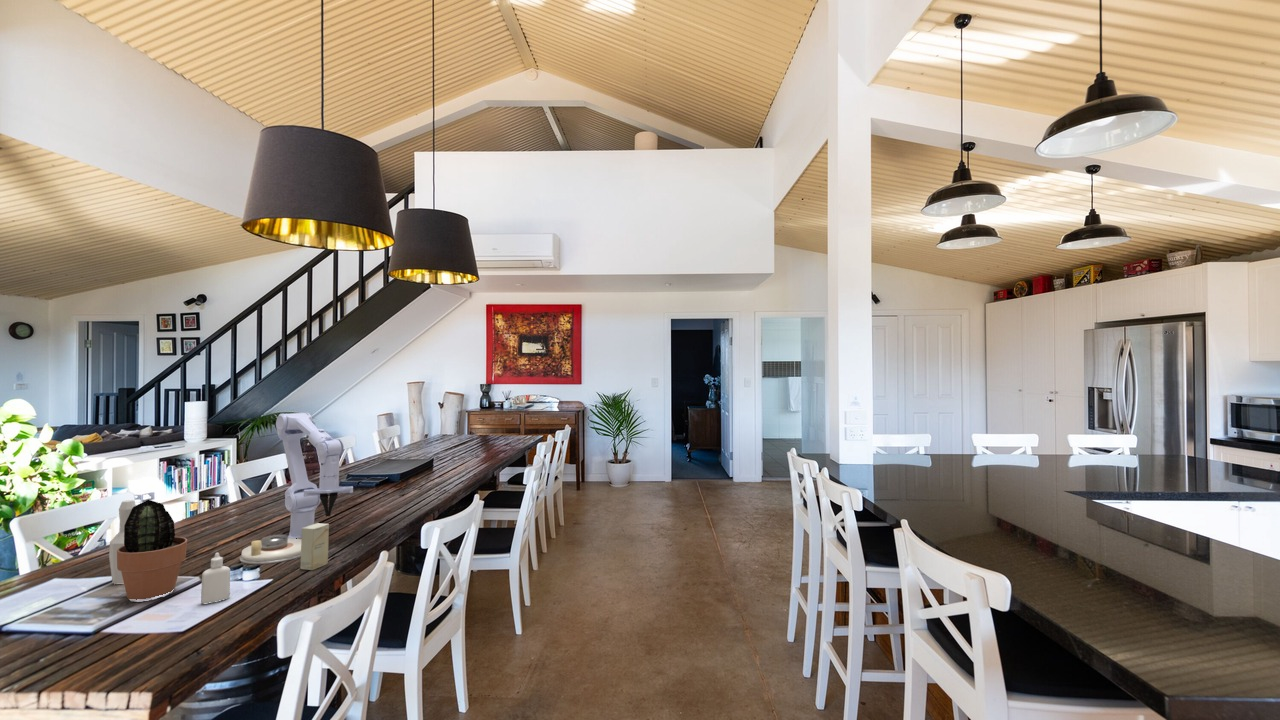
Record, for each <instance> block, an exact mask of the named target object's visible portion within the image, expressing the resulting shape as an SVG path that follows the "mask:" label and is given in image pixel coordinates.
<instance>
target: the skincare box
mask: <svg viewBox="0 0 1280 720" xmlns="http://www.w3.org/2000/svg"><path fill="white" fill-rule="evenodd" d="M329 529H330V524H329V523H322V522H321V523H319V522H317V523H314V524H313V525H310V526H307V527H304V528H302V538H300V539H301V557H300V567H299V568H300V570H305V571H314V570H316V569H318V568H321V567H324V566H325V565H328V564H329V563H328V562H329V533H330V531H329Z"/></svg>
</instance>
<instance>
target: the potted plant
mask: <svg viewBox="0 0 1280 720" xmlns="http://www.w3.org/2000/svg"><path fill="white" fill-rule="evenodd" d="M135 505H136V506H134V507H133V508H132V510H131V512H130V514H129V517H128V519H127V521H126V523H125V525H124V545H123V546H121V547H119V548H118V549H117V569H118V570H119V571H121V573H122V577H123V581H124V584H123V585H124V589H125V590H124V591H125V594H126V598H128V599H136V600H137V599H146V598H151V597H155V596H159V595H163V594H166V593H168V592H171V591H172V590H173V589H174V590H175V587H176V583H177V580H178V576H179V573H180V569H181V565H182V562H183V561H185V560H186V558H187V549H188V548H187V547H188V539H187V538H186V537H182V536H176V531H175V529H176V528H175V521H174V520H173V518H172V515H170V512H169V511H167V510H166V507H165V506H164V504H163V503H161V502H158V501H154V500H151V499H146V500H144V501H143V502H141V503H139V504H135ZM128 599H127V600H128Z"/></svg>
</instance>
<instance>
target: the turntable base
mask: <svg viewBox="0 0 1280 720" xmlns="http://www.w3.org/2000/svg"><path fill="white" fill-rule="evenodd" d="M299 558H301V554H300V555H297V556H294V557H291V558H286V559H281V560H275V561H265V562H252V561H246V560H243V559H242V554H241V555H240V556H239V559H238V560H239V561H240V562H241V563H244V564H247V565H268V564H270V565H271V564H276V563H283V562H287V561H292V560H295V559H299Z"/></svg>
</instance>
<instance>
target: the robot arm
mask: <svg viewBox="0 0 1280 720" xmlns="http://www.w3.org/2000/svg"><path fill="white" fill-rule="evenodd" d="M275 428H276V433H277V436H278V437H277V438H278V439H280V440H281V441H282V444H283V448H284V455H285V458H286V459H285V460H286V463H287V466H288V467H287V469H288V473H289V477H290V481H291V485H290V486H289V487H288V488H287V489H286V490H285V492H284V498H285V499H284V505H285V508H286V510H287V511H288V512H290V522H289V523H290V526H289V527H290V528H289V533H288V535H287V536H288V539H289V538H297V539H302V528H304V527H307V526H310V525H313V524H315V512H316V510H317V509H318V508H317V507H318V506H319V505H320V503H322V504H321V505H322V506H323V509H324V512H325V517H331V516H332V515H331V514H332V510H333V507H334V504H335V502H336V500H337V499H338V496H339V494H353V493H354V486H353V485H351V486H340V485H339V483H340V457H341V456H342V455H343V453H344V443H343V441H342V440H341V439H340V438H333V437H332V436H331V435H330V434H328V432H326V430H325V429H324V428H318V427H317V426H316V425H315V424H314V423H313V416H312V415H311V414H310V413H309V412H307V411H306V412H298V413H297V412H293V413H280V414H279V415H278V416H277V418H276V422H275ZM306 436H308V438H307V439H308V442H309V443H310V444H311V445H312V446H313V447H314V448H315V449H316V455H317V456H318V460H317V461H318V463H320V464H319V487H318V486H317V484H315V483H314V482H312V481H310V480H309V478H308V477H309V476H308V473H307V469H306V468H307V467H306V463H305V459H304V455H303V450H302V446H301V442H300V440H301V439H303V438H304V437H306Z"/></svg>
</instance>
